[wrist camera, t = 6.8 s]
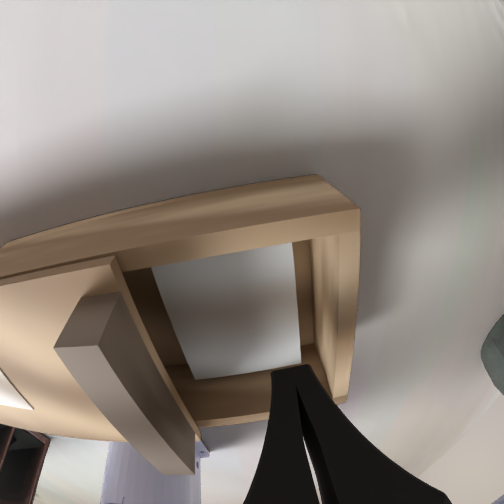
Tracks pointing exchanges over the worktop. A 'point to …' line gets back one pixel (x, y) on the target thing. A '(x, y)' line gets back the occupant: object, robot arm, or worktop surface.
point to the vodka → (495, 355)
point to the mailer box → (228, 286)
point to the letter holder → (20, 463)
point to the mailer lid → (89, 365)
